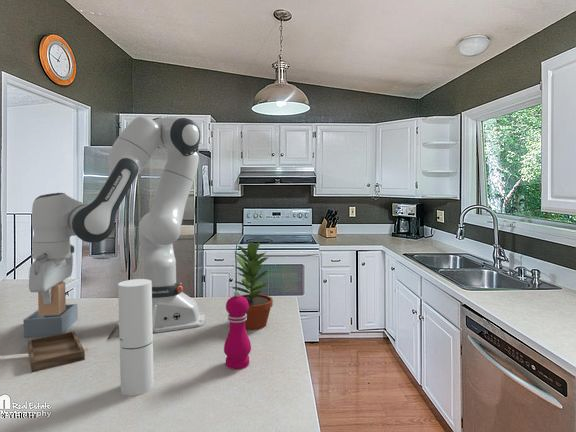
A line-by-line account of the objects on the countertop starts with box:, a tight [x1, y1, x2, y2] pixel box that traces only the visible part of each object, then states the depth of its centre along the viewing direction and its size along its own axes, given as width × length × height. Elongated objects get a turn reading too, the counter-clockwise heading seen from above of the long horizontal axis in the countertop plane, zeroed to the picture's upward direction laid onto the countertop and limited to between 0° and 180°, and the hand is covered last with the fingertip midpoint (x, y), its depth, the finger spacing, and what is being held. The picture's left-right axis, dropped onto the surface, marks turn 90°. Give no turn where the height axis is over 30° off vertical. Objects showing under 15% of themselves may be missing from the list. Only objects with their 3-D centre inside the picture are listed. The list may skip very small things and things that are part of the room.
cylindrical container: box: [117, 278, 155, 397], centre depth 86 cm, size 7×7×25 cm
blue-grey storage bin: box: [23, 303, 79, 338], centre depth 122 cm, size 11×15×6 cm
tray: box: [27, 330, 86, 373], centre depth 104 cm, size 18×12×2 cm, turn 38°
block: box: [37, 281, 67, 316], centre depth 103 cm, size 5×5×8 cm
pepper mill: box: [223, 290, 252, 370], centre depth 98 cm, size 7×7×20 cm
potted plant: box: [230, 241, 274, 331], centre depth 127 cm, size 15×15×30 cm
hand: (52, 300), depth 103 cm, fingers closed on block, 5 cm apart
